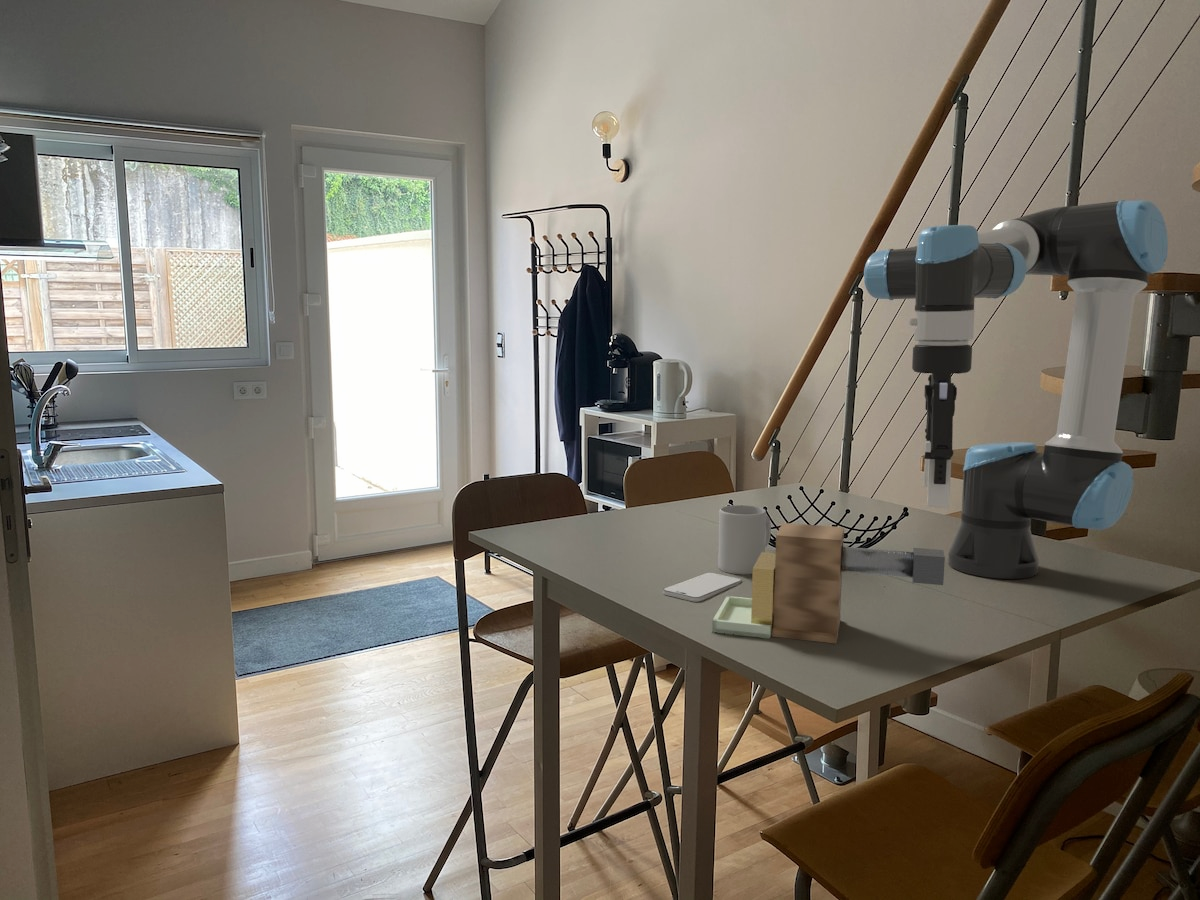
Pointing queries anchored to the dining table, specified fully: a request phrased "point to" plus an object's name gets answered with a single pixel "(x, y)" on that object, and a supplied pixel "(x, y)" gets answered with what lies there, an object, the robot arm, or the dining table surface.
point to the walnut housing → (808, 582)
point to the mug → (742, 537)
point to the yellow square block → (763, 590)
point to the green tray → (738, 619)
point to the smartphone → (701, 587)
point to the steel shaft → (896, 563)
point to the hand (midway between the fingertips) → (935, 496)
